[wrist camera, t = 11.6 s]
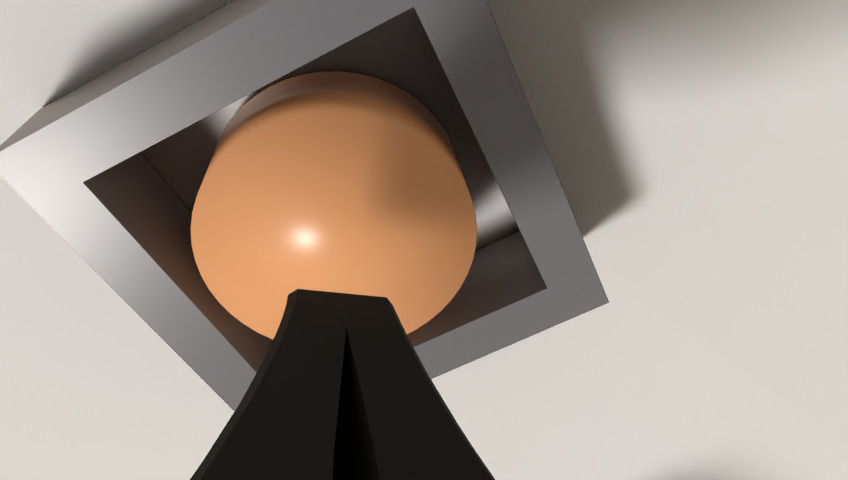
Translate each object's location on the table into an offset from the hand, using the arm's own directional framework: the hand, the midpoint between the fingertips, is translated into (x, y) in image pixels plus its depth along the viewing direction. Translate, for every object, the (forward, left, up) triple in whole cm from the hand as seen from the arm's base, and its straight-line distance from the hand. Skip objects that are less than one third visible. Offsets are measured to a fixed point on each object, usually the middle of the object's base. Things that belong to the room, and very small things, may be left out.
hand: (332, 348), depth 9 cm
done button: (0, 0, -5) cm, 5 cm away
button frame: (0, 0, -5) cm, 5 cm away
